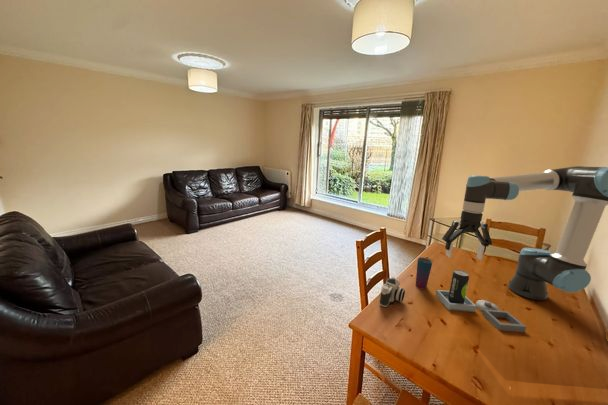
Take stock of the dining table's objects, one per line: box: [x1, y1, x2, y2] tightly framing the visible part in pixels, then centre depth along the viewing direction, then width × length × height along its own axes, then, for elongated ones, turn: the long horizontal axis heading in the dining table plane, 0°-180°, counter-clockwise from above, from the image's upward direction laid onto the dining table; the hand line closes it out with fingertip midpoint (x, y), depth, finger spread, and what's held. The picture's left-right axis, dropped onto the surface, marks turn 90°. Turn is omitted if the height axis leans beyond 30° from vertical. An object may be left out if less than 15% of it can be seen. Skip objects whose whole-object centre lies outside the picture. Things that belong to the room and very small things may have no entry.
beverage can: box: [448, 269, 470, 304], centre depth 112 cm, size 6×6×15 cm
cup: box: [415, 256, 433, 290], centre depth 126 cm, size 7×7×15 cm
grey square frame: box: [475, 299, 527, 333], centre depth 106 cm, size 10×18×3 cm, turn 178°
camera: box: [379, 276, 406, 308], centre depth 113 cm, size 16×9×10 cm, turn 144°
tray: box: [435, 289, 477, 313], centre depth 114 cm, size 12×12×3 cm
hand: (463, 257), depth 110 cm, fingers open, 13 cm apart
